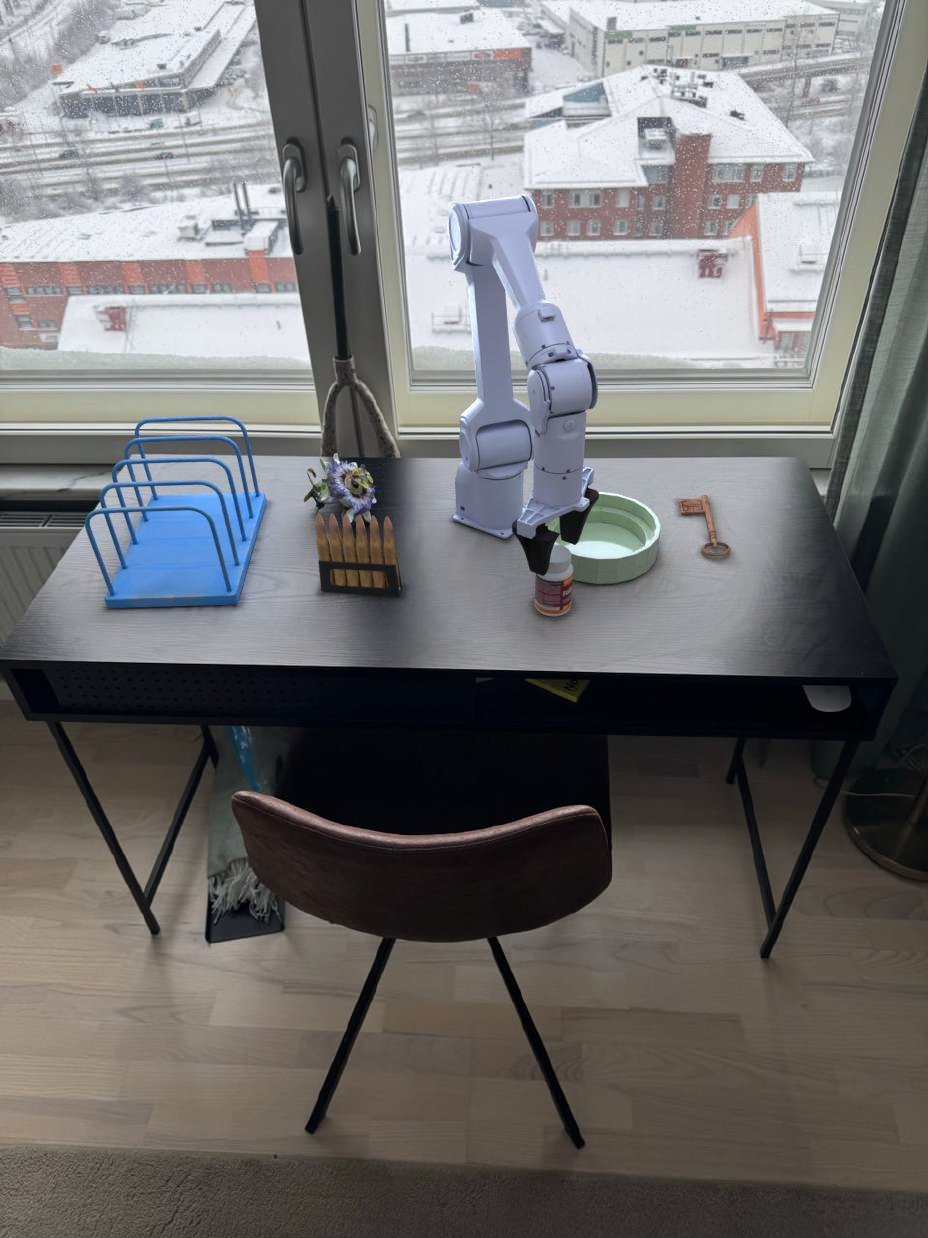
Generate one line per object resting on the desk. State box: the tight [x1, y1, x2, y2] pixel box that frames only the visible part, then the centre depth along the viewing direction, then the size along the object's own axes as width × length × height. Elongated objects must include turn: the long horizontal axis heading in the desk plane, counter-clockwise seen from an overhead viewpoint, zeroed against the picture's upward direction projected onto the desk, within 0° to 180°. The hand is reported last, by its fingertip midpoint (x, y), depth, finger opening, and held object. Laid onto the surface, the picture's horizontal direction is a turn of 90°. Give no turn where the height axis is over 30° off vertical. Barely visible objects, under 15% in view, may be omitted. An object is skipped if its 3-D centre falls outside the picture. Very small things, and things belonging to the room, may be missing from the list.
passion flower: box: [303, 453, 377, 526], centre depth 136 cm, size 11×11×12 cm
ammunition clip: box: [315, 512, 403, 597], centre depth 121 cm, size 11×2×12 cm, turn 83°
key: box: [678, 494, 731, 558], centre depth 133 cm, size 6×1×15 cm
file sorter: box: [84, 414, 268, 609], centre depth 127 cm, size 25×17×15 cm
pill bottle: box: [534, 545, 574, 617], centre depth 118 cm, size 5×5×8 cm
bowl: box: [546, 491, 662, 585], centre depth 129 cm, size 16×16×4 cm
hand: (554, 556), depth 116 cm, fingers open, 7 cm apart
